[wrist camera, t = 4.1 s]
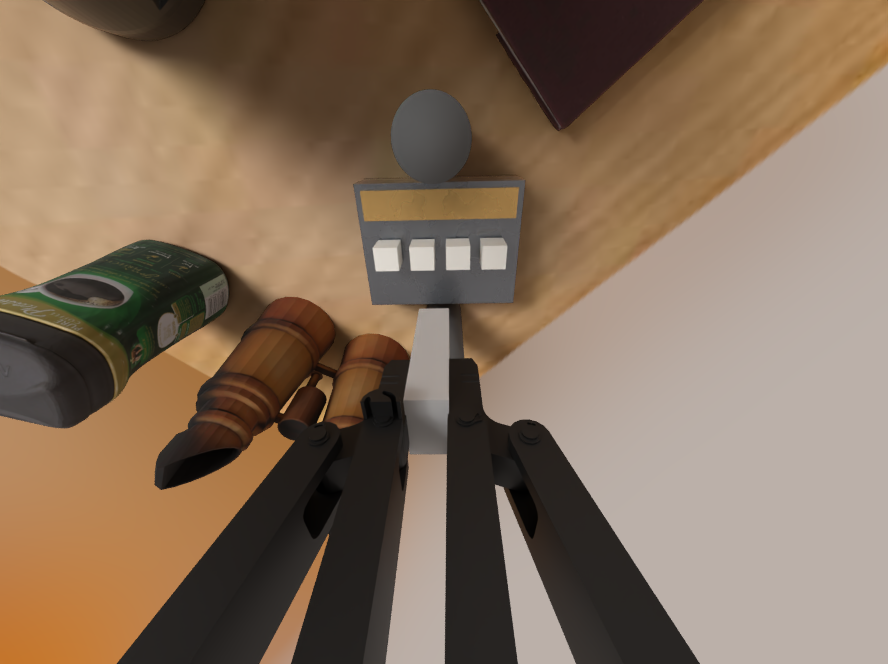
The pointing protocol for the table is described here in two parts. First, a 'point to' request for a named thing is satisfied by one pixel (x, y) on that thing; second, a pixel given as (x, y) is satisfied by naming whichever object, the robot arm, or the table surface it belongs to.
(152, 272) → the coffee jar
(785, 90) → the table surface
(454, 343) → the post
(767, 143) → the table surface
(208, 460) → the binoculars
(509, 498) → the robot arm
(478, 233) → the breaker box
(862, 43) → the table surface
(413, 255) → the row of white cubes
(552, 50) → the book
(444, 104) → the post
